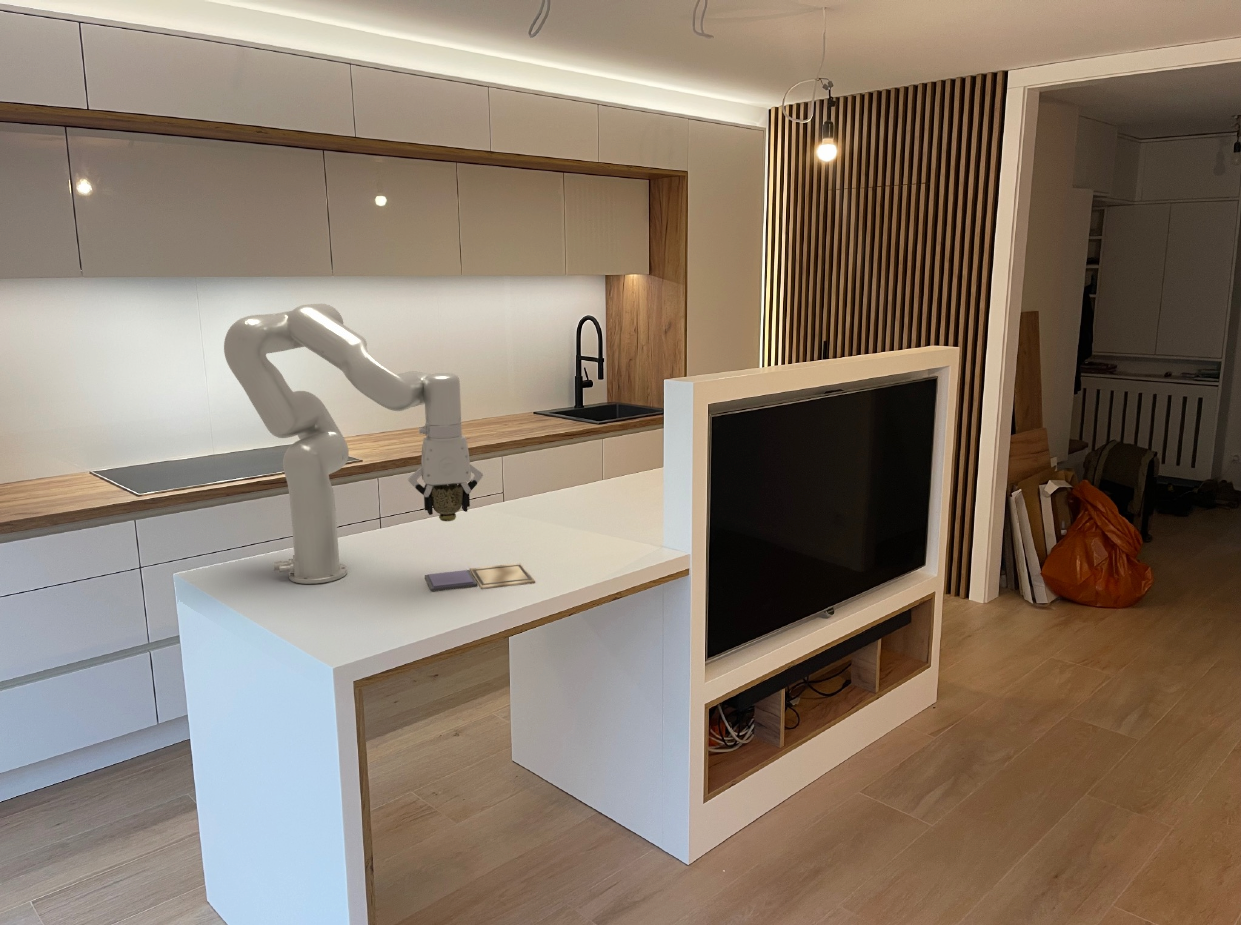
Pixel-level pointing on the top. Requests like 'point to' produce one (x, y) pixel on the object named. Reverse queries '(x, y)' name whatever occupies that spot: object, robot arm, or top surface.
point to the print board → (501, 575)
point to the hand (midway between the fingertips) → (447, 511)
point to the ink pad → (450, 580)
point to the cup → (447, 500)
